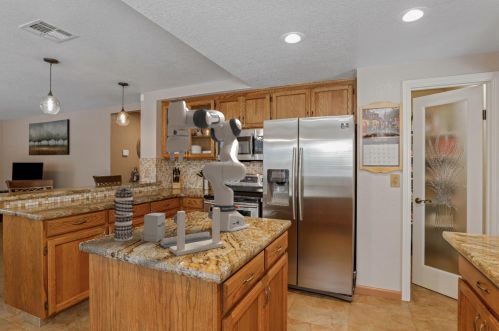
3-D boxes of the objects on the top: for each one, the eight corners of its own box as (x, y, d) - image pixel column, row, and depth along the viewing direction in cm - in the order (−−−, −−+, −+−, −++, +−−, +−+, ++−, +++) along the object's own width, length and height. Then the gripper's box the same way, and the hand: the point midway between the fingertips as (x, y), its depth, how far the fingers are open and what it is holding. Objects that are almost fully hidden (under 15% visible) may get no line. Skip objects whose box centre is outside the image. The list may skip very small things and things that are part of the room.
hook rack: (213, 241, 128) (214, 205, 128) (223, 246, 121) (223, 208, 121) (169, 250, 114) (170, 209, 114) (177, 255, 108) (178, 213, 108)
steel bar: (207, 236, 135) (207, 231, 135) (209, 237, 133) (209, 232, 133) (160, 244, 120) (161, 238, 120) (162, 245, 118) (162, 239, 118)
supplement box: (157, 242, 126) (157, 215, 126) (143, 241, 127) (143, 214, 127) (165, 238, 133) (165, 213, 133) (151, 237, 134) (152, 212, 134)
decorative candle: (120, 242, 124) (121, 189, 124) (109, 239, 129) (109, 188, 129) (137, 237, 132) (138, 188, 132) (126, 235, 137) (126, 187, 137)
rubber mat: (204, 236, 137) (204, 234, 137) (212, 240, 131) (212, 238, 131) (158, 244, 122) (158, 242, 122) (164, 248, 116) (164, 247, 116)
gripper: (163, 134, 136) (162, 161, 136) (178, 130, 120) (178, 161, 120) (174, 135, 140) (174, 161, 140) (191, 131, 124) (191, 161, 124)
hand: (176, 161), depth 130 cm, fingers open, 8 cm apart
